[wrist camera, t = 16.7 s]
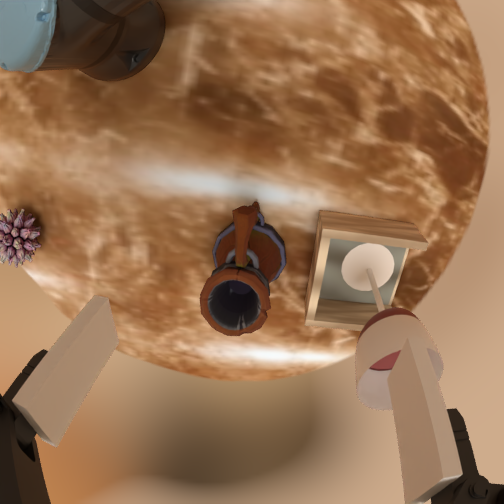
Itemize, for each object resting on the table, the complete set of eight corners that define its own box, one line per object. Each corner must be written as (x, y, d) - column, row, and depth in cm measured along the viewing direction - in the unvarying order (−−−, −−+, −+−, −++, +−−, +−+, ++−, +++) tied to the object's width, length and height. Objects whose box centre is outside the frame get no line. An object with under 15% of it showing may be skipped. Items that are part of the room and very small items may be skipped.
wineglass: (333, 290, 50) (344, 408, 30) (348, 234, 46) (377, 343, 25) (384, 297, 50) (417, 410, 30) (403, 244, 45) (459, 349, 25)
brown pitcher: (221, 171, 45) (188, 205, 32) (300, 183, 44) (301, 223, 31) (212, 276, 54) (186, 335, 41) (280, 288, 53) (272, 352, 40)
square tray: (319, 210, 46) (322, 228, 40) (413, 223, 44) (428, 243, 38) (305, 299, 53) (304, 325, 47) (387, 307, 52) (396, 333, 46)
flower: (53, 258, 58) (18, 288, 47) (16, 238, 57) (-18, 263, 47) (54, 210, 52) (13, 236, 42) (15, 192, 52) (-24, 214, 41)
